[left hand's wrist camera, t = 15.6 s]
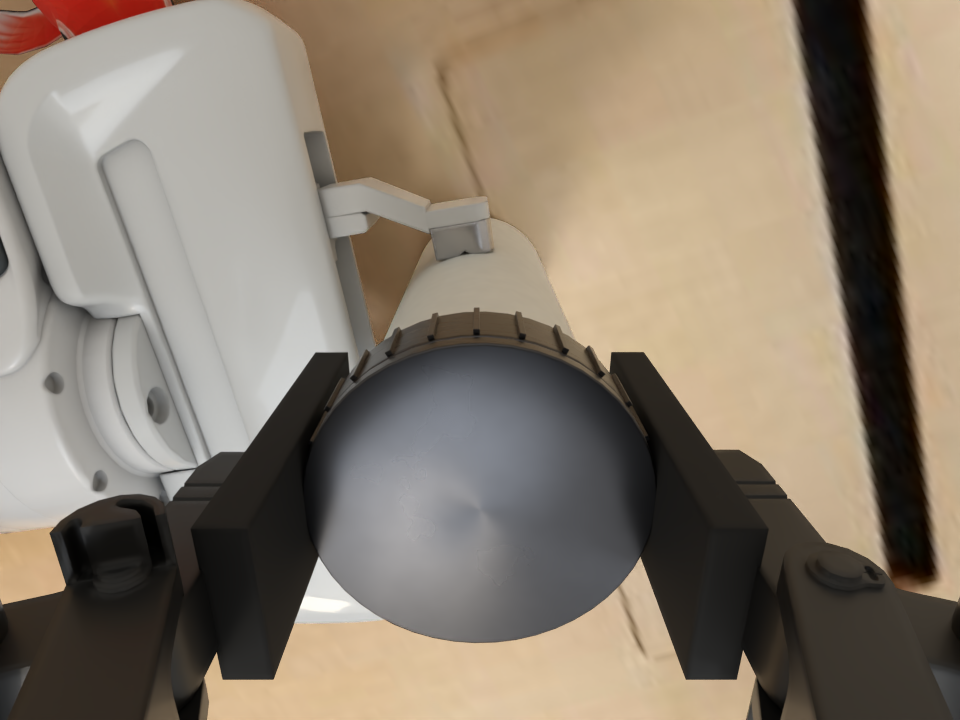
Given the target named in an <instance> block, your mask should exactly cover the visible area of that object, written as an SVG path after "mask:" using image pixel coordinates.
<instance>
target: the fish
mask: <svg viewBox="0 0 960 720" xmlns="http://www.w3.org/2000/svg"><path fill="white" fill-rule="evenodd" d="M32 1H33V3H34V4H35V5H36V6H37V7H36V8H34V9H31V10H29V11H8V10H0V54H14V55H19V54H23V53H26V52H30V51H33V50H37V49H40V48H43V47H46V46H48V45H50V44H51V43H53V42H55V41H56V40H58V39H59V38H61V37H62V36H63V38H64V39H65V40H67V39H70V38H72V37H75V36H77V35H80V34H82V33H85V32H88V31H90V30H93V29H96V28H99V27H101V26H104V25H108V24H111V23H114V22H117V21H120V20H123V19H126V18H129V17H132V16H136V15H139V14H143V13H146V12H150V11H153V10H157V9H161V8H165V7H169V6H173V5H174V4H173V1H172V0H32Z"/></svg>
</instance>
